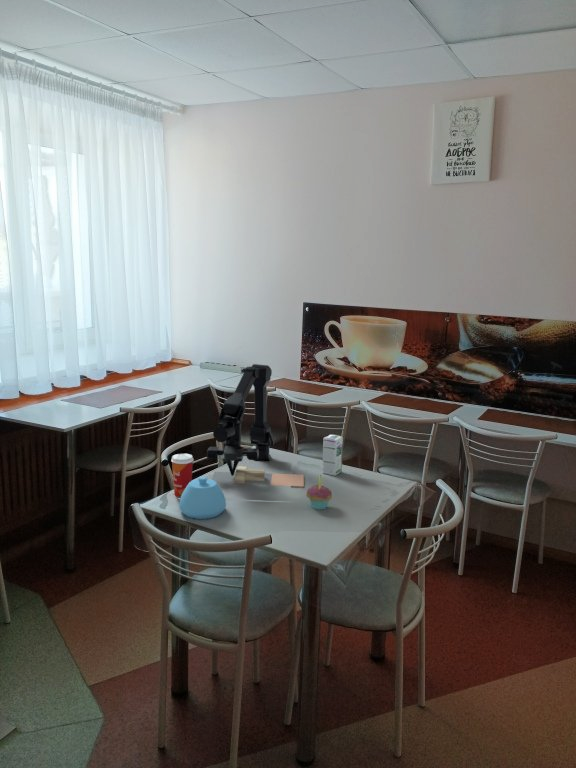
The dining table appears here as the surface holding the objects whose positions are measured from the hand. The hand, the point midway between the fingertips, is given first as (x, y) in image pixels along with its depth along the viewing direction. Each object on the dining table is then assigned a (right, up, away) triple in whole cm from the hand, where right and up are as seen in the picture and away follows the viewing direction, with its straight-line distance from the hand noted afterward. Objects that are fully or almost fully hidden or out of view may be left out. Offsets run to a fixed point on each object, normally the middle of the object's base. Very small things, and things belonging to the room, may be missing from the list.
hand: (232, 475), depth 234 cm
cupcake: (+31, -7, -23) cm, 39 cm away
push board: (+9, -2, 0) cm, 10 cm away
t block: (+7, -1, 0) cm, 7 cm away
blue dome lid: (-7, -8, -29) cm, 31 cm away
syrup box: (+38, -1, +10) cm, 39 cm away
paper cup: (-16, -5, -16) cm, 23 cm away
